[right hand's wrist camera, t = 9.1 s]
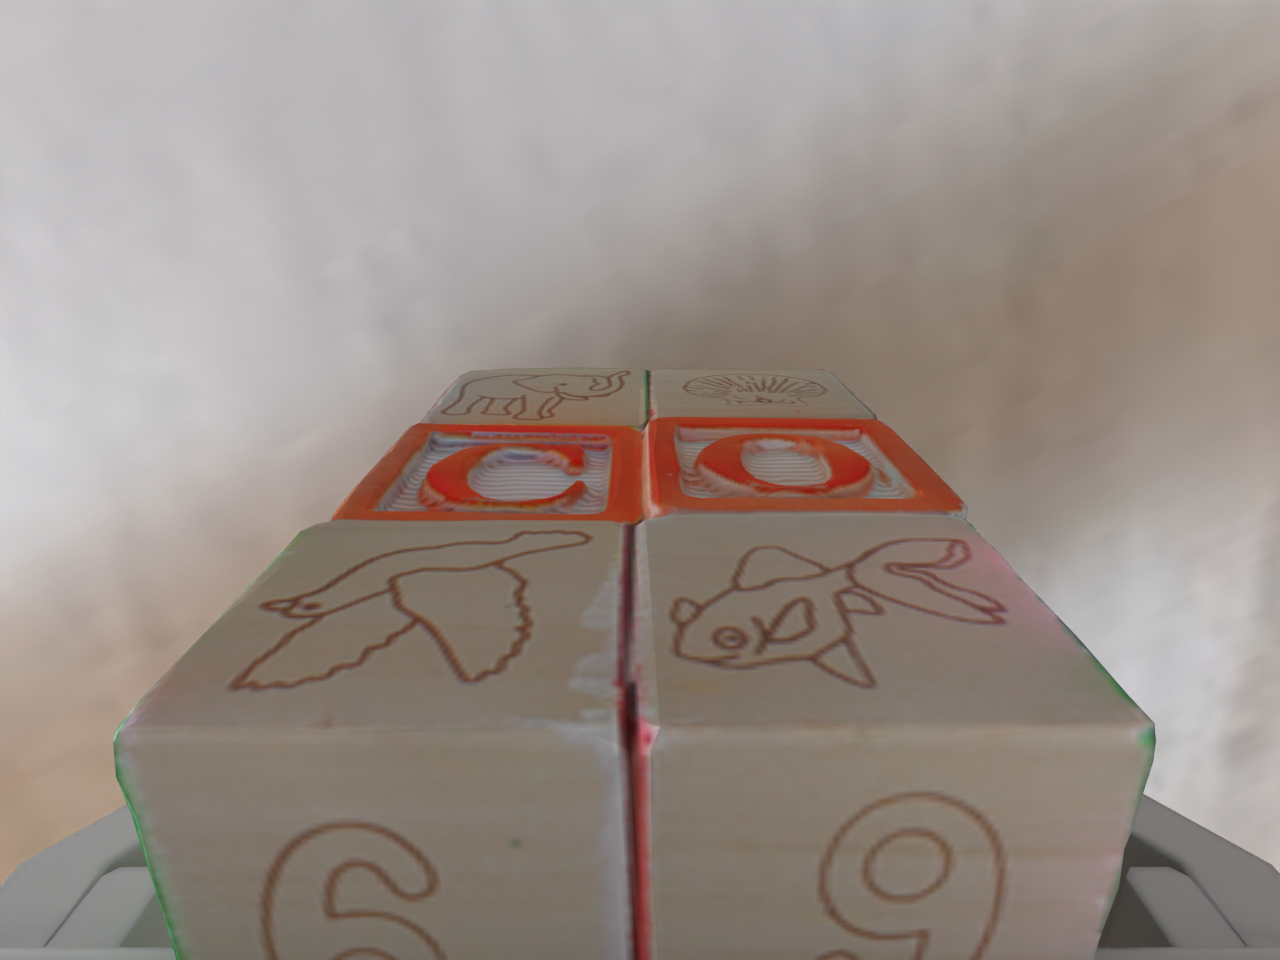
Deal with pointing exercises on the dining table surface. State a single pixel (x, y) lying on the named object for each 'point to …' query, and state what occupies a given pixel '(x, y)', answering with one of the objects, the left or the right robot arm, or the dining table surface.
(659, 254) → the dining table surface
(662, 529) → the stack of blocks
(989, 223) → the dining table surface
